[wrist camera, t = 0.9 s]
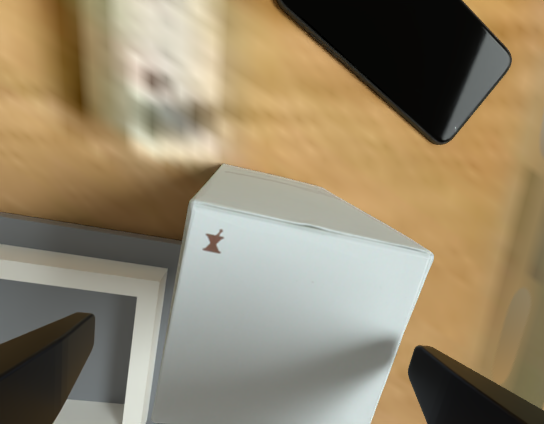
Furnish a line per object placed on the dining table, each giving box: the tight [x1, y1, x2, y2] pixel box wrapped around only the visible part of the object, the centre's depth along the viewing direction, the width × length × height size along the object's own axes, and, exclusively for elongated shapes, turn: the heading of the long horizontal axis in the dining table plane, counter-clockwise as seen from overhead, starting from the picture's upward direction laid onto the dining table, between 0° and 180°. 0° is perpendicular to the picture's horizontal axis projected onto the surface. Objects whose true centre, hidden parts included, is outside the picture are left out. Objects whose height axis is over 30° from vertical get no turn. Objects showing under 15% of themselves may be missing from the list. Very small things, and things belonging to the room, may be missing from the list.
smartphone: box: [277, 0, 512, 145], centre depth 19 cm, size 7×1×15 cm
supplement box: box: [151, 164, 434, 424], centre depth 15 cm, size 7×7×13 cm
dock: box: [0, 212, 182, 424], centre depth 20 cm, size 16×16×3 cm
